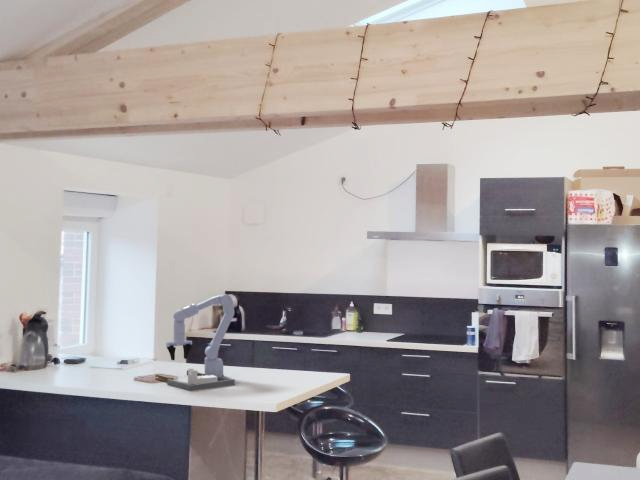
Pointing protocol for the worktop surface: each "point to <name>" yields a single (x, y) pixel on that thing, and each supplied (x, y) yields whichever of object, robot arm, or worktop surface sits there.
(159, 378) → the brown rectangular beams
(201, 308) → the robot arm
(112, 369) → the worktop surface
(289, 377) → the worktop surface
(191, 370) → the bracket
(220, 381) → the gray u-shaped frame
